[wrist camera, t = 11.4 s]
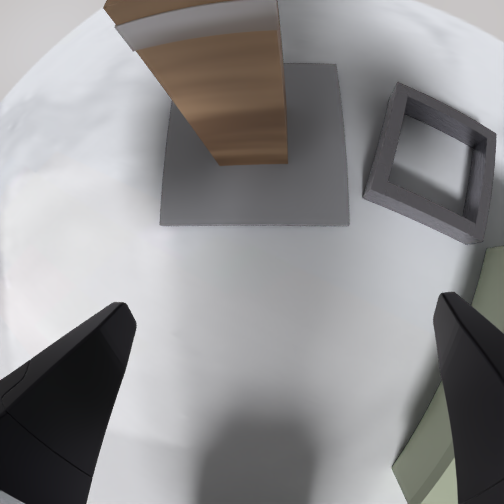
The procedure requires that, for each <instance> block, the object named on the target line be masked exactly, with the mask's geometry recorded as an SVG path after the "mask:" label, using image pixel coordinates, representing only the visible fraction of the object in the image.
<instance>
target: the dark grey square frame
mask: <svg viewBox="0 0 504 504" xmlns="http://www.w3.org/2000/svg"><path fill="white" fill-rule="evenodd" d="M404 114H406V115H409V116H411V117H413V118H415V119H417V120H420V121H422V122H424V123H426V124H428V125H430V126H432V127H434V128H436V129H438V130H440V131H442V132H444V133H446V134H448V135H450V136H452V137H454V138H455V139H457V140H459V141H461V142H463V143H465V144H466V145H468V146H470V147H472V148H473V155H472V163H471V171H470V178H469V184H468V190H467V196H466V202H465V207H464V212H463V217H462V216H460V215H458V214H456V213H454V212H452V211H450V210H449V209H447V208H444V207H442V206H440V205H438V204H436V203H434V202H432V201H430V200H428V199H426V198H424V197H422V196H419V195H417V194H415V193H413V192H411V191H408V190H406V189H404V188H402V187H399V186H397V185H395V184H392V183H390V182H388V179H389V176H390V172H391V168H392V164H393V160H394V156H395V152H396V148H397V144H398V140H399V135H400V131H401V126H402V122H403V117H404ZM495 153H496V133H494V132H493V131H491V130H490V129H488V128H486V127H485V126H483V125H482V124H480V123H478V122H477V121H475V120H473V119H471V118H470V117H468V116H466V115H464V114H463V113H461V112H459V111H457V110H455V109H453V108H452V107H450V106H448V105H446V104H444V103H442V102H440V101H438V100H436V99H434V98H432V97H430V96H428V95H426V94H424V93H421V92H419V91H417V90H415V89H413V88H410V87H408V86H406V85H403V84H401V83H399V82H397V84H396V86H395V88H394V90H393V92H392V94H391V96H390V99H389V103H388V107H387V111H386V116H385V120H384V124H383V128H382V131H381V135H380V139H379V143H378V147H377V150H376V154H375V158H374V161H373V165H372V168H371V172H370V175H369V178H368V182H367V185H366V188H365V192H364V195H363V199H366V200H368V201H371V202H373V203H376V204H378V205H381V206H383V207H385V208H388V209H390V210H392V211H395V212H397V213H399V214H402V215H404V216H406V217H409V218H411V219H413V220H415V221H418V222H420V223H422V224H424V225H426V226H429V227H431V228H433V229H435V230H437V231H439V232H441V233H443V234H446V235H448V236H450V237H452V238H454V239H456V240H458V241H460V242H462V243H464V244H466V245H468V244H474V243H479V242H483V239H484V234H485V229H486V223H487V218H488V212H489V206H490V200H491V192H492V185H493V176H494V166H495Z"/></svg>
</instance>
